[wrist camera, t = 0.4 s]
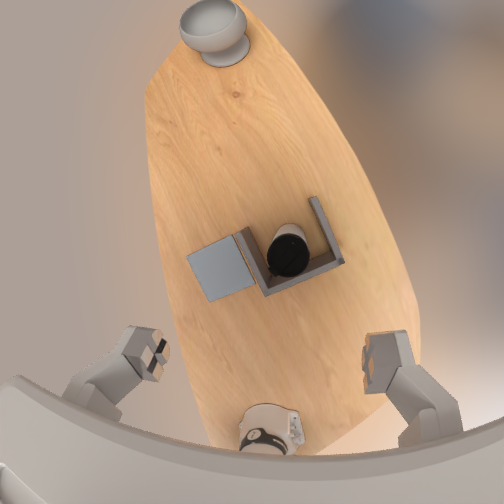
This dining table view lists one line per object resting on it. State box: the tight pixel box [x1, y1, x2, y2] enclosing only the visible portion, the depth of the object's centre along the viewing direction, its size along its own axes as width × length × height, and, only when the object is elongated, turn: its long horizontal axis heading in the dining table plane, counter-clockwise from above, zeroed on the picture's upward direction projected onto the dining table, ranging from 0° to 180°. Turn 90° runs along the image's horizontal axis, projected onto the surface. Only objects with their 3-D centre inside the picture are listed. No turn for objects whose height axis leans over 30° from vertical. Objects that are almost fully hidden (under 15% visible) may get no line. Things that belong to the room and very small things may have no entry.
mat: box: [186, 235, 255, 303], centre depth 62 cm, size 12×12×1 cm
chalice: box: [179, 0, 250, 67], centre depth 45 cm, size 14×14×15 cm
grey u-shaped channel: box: [235, 196, 345, 297], centre depth 54 cm, size 13×16×9 cm
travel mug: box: [267, 223, 310, 278], centre depth 49 cm, size 6×7×20 cm
